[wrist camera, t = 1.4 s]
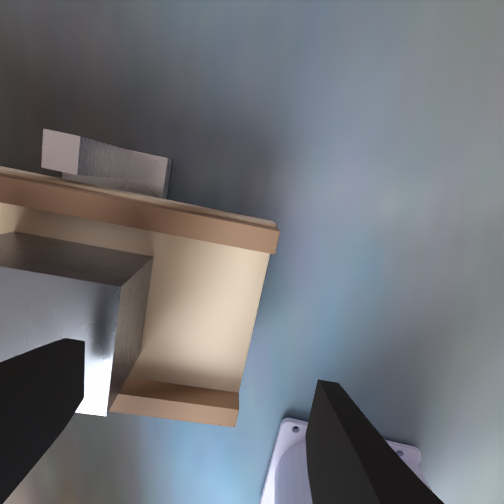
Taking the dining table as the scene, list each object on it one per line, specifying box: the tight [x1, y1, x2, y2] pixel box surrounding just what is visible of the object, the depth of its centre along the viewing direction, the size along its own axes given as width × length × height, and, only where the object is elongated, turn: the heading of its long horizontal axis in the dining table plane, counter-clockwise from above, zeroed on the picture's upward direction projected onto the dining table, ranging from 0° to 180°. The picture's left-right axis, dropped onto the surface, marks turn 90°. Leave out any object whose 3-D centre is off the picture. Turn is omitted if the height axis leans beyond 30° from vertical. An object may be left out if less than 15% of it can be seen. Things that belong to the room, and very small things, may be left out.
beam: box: [0, 166, 280, 427], centre depth 14 cm, size 21×10×3 cm, turn 78°
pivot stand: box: [41, 128, 173, 199], centre depth 16 cm, size 6×14×5 cm, turn 168°
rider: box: [0, 231, 154, 416], centre depth 12 cm, size 6×5×4 cm
